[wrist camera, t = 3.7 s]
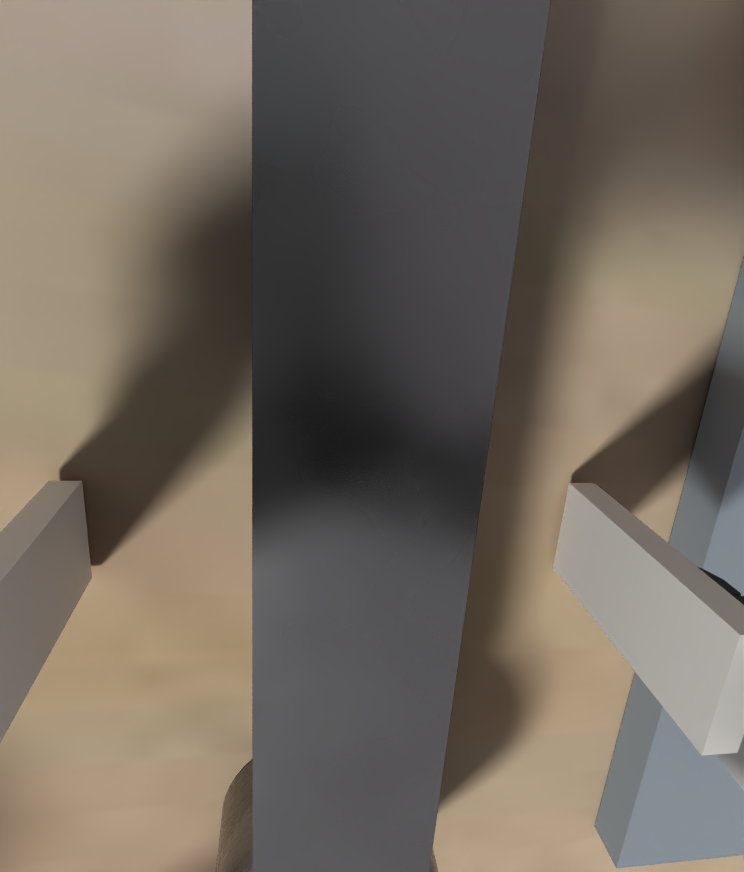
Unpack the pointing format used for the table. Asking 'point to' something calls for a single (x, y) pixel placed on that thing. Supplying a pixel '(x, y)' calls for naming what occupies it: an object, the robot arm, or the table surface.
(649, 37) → the table surface
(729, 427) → the peg rack
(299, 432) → the dark grey bar
